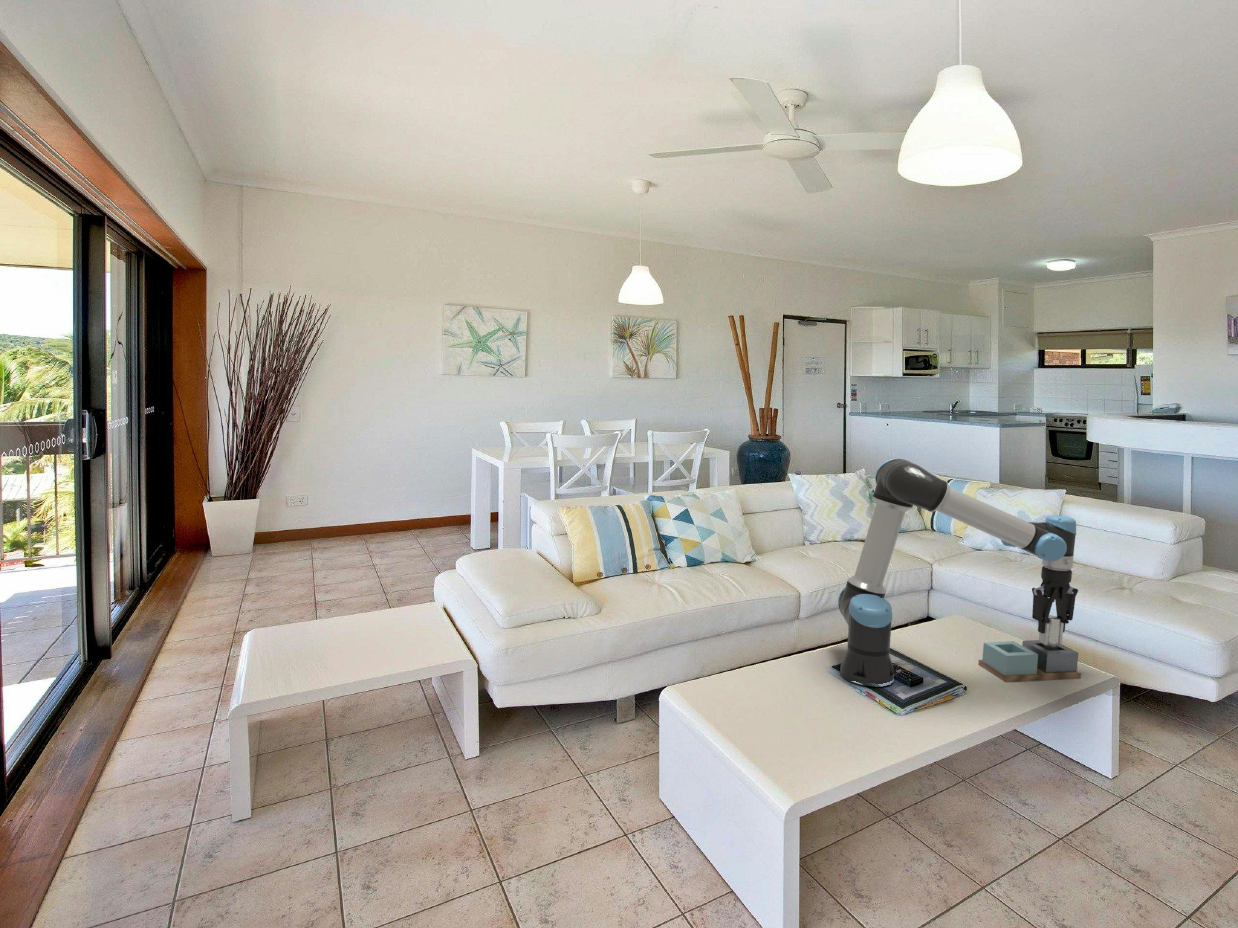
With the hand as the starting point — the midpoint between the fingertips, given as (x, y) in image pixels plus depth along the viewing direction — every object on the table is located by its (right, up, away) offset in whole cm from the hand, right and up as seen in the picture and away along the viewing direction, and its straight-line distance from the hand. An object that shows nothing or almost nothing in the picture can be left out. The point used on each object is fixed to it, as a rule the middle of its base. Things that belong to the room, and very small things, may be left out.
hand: (1050, 642), depth 196 cm
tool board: (-6, -9, 0) cm, 11 cm away
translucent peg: (0, -6, +1) cm, 6 cm away
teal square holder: (-13, -7, -1) cm, 15 cm away
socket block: (0, -7, +1) cm, 7 cm away
